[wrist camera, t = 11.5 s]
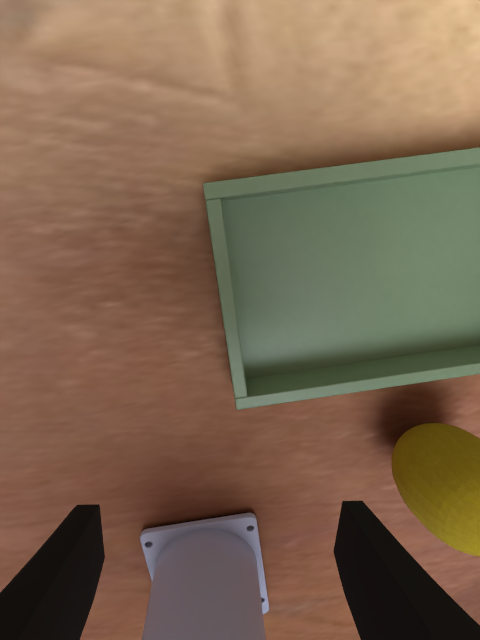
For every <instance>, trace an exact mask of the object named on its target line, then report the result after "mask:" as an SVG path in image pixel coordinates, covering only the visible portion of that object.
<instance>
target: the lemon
mask: <svg viewBox="0 0 480 640" xmlns="http://www.w3.org/2000/svg"><path fill="white" fill-rule="evenodd" d="M392 473H393V477H394V480H395V483H396V485H397V488H398V490H399V492H400V495H401V497H402V498H403V500H404V502H405V503H406V505H407V506H408V507H409V509H410V510H411V511H412V512H413V514H414V515H415V516H416V517H417V518H418V519H419V521H420V522H421V523H422V524H423V525H424V526H425V527H426V528H427V529H428V530H429V531H430V532H431V533H432V534H434V535H435V536H436V537H437V538H438V539H440V540H441V541H443V542H444V543H446V544H448V545H449V546H451V547H453V548H454V549H456V550H458V551H461V552H464V553H468V554H471V555H475V556H480V439H479V438H478V437H476V436H474V435H472V434H471V433H469V432H467V431H465V430H463V429H461V428H458V427H456V426H452V425H448V424H443V423H425V424H421V425H417V426H415V427H413V428H411V429H409V430H408V431H406V432H405V433H404V434H403V435H402V436H401V437H400V438H399V440H398V441H397V443H396V445H395V447H394V450H393V454H392Z"/></svg>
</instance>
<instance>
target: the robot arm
mask: <svg viewBox="0 0 480 640" xmlns="http://www.w3.org/2000/svg"><path fill="white" fill-rule="evenodd" d="M140 542H141V545H142V549H143V552H144V556H145V559H146V563H147V566H148V570H149V573H150V577H151V581H152V586H151V592H150V597H149V603H148V608H147V614H146V619H145V624H144V630H143V635H142V640H266V638H265V629H264V620H263V614H265V613H267V612H268V610H269V603H268V596H267V589H266V582H265V575H264V568H263V561H262V554H261V547H260V540H259V534H258V527H257V520H256V516H255V515H254V514H253V513H243V514H237V515H231V516H224V517H218V518H212V519H205V520H199V521H192V522H186V523H180V524H173V525H167V526H161V527H154V528H148V529H144V530H143V531H142V532H141V535H140ZM334 555H335V559H336V563H337V567H338V571H339V575H340V579H341V583H342V586H343V590H344V593H345V596H346V599H347V602H348V605H349V608H350V610H351V613H352V616H353V619H354V622H355V624H356V627H357V630H358V633H359V636H360V638H361V640H480V625H479V624H478V623H476V622H475V621H474V620H473V619H472V618H471V617H470V616H469V615H468V614H467V613H466V612H465V611H464V610H463V609H462V608H461V607H460V606H459V605H458V604H457V603H456V602H455V601H454V600H453V599H452V598H451V597H450V596H449V595H448V594H447V593H446V592H445V591H444V590H443V589H442V588H441V587H440V586H439V585H438V584H437V583H436V582H435V581H434V580H433V579H432V578H431V576H430V575H429V574H428V573H427V572H426V571H425V570H424V569H423V568H422V567H421V566H420V565H419V564H418V563H417V562H416V560H415V559H414V558H413V557H412V556H411V555H410V554H409V553H408V552H407V551H406V550H405V548H404V547H403V546H402V545H401V544H400V543H399V542H398V541H397V540H396V538H395V537H394V536H393V535H392V534H391V533H390V532H389V531H388V529H387V528H386V527H385V526H384V525H383V524H382V523H381V522H380V520H379V519H378V518H377V517H376V516H375V515H374V514H373V512H372V511H371V510H370V509H369V508H368V507H367V506H366V505H365V503H364V502H363V501H343V502H342V508H341V513H340V519H339V524H338V530H337V535H336V541H335V547H334ZM104 558H105V555H104V545H103V535H102V525H101V515H100V506H99V505H77V506H76V507H75V508H74V509H73V510H72V511H71V512H70V513H69V515H68V516H67V517H66V518H65V519H64V521H63V522H62V523H61V524H60V525H59V527H58V528H57V529H56V530H55V531H54V533H53V534H52V535H51V536H50V537H49V538H48V540H47V541H46V542H45V543H44V544H43V545H42V547H41V548H40V549H39V550H38V551H37V552H36V554H35V555H34V556H33V557H32V558H31V559H30V560H29V561H28V563H27V564H26V565H25V566H24V567H23V568H22V569H21V570H20V572H19V573H18V574H17V575H16V576H15V577H14V578H13V579H12V581H11V582H10V583H9V584H8V585H7V586H6V587H5V588H4V589H3V590H2V591H1V593H0V640H80V637H81V634H82V631H83V628H84V626H85V623H86V620H87V617H88V615H89V612H90V609H91V606H92V603H93V600H94V596H95V593H96V589H97V585H98V582H99V578H100V574H101V570H102V566H103V562H104Z"/></svg>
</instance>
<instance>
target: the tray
mask: <svg viewBox="0 0 480 640" xmlns="http://www.w3.org/2000/svg"><path fill="white" fill-rule="evenodd" d="M203 189H204V195H205V200H206V209H207V216H208V222H209V229H210V236H211V242H212V249H213V256H214V263H215V269H216V276H217V283H218V290H219V296H220V303H221V310H222V316H223V323H224V330H225V337H226V343H227V350H228V357H229V364H230V370H231V377H232V384H233V390H234V397H235V404H236V409H237V410H239V409H246V408H253V407H260V406H266V405H273V404H280V403H287V402H293V401H300V400H307V399H313V398H320V397H327V396H334V395H340V394H347V393H354V392H361V391H367V390H374V389H381V388H388V387H394V386H401V385H408V384H415V383H421V382H428V381H435V380H442V379H448V378H455V377H462V376H469V375H475V374H480V147H478V148H470V149H462V150H455V151H447V152H439V153H432V154H424V155H416V156H408V157H401V158H393V159H385V160H377V161H370V162H362V163H354V164H347V165H339V166H331V167H323V168H316V169H308V170H300V171H293V172H285V173H277V174H269V175H262V176H254V177H246V178H238V179H231V180H223V181H215V182H208V183H203Z"/></svg>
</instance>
